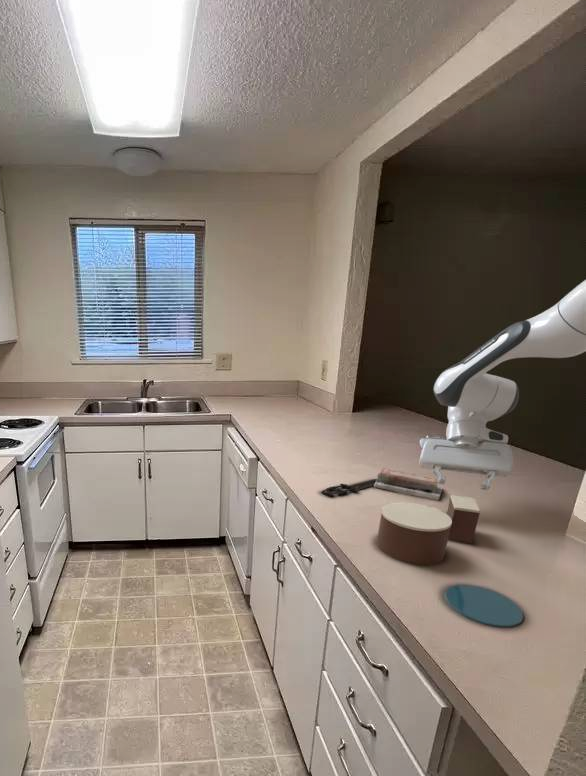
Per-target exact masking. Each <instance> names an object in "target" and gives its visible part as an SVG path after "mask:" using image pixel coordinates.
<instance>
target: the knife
mask: <svg viewBox="0 0 586 776" xmlns="http://www.w3.org/2000/svg"><path fill="white" fill-rule="evenodd" d="M376 480H377V478H374V479H370V480H366V481H362V482H358V483H354V484H350V485H348V484H346V483H340V484H339V485H336V486H335V485H334V486H329V487H327V488H325V489H323V490H321V491H320V493H321V494H322V495H324V496H326V497H328V498H334V496H335V495H338V497H343V496H346V495H348V492H349V493H354V494H357V493H358V490H359V491H360V490H363V489H367V488H369V487H370V488H371V487H374V484H375V482H376ZM340 488H341V489H340ZM332 491H333V492H332Z"/></svg>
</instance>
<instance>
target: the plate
mask: <svg viewBox="0 0 586 776" xmlns="http://www.w3.org/2000/svg"><path fill="white" fill-rule="evenodd" d="M444 597H445V601H446V603H447V605H449V606H450V607H451V608H452V609H453V610H454V611H456V612H457V613H458V614H460V615H461V616H463V617H465V618H467V619H469V620H471V621H474V622H477V623H479V624H483V625H486V626H490V627H496V628H512V627H515V626H518V625H520V624H521V623H522V621H523V619H524V614H523V611H522V609H521V608H520V607H519V606H518V605H517V604H516V603H515V602H514V601H512V600H511V599H509V598H508V597H506V596H505V595H503V594H501V593H499V592H497V591H494V590H491V589H489V588H486V587H481V586H478V585H470V584H457V585H453V586H450V587H449V588H448V589H446V591H445V594H444Z"/></svg>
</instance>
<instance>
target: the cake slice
mask: <svg viewBox="0 0 586 776" xmlns="http://www.w3.org/2000/svg"><path fill="white" fill-rule="evenodd" d="M480 513H481V510H480V507H479V505H478V504H477V500H476V499H475V497H469V496H461V495H454V494H451V495H450V497H449V502H448V505H447V511H446V514H447V515H448V516H449V517H450V518H451V520H452V524H451V529H450V533H449V537H448V541H452V542H459V543H464V544H470V545H472V544H473V541H474V537H475V533H476V529H477V525H478V522H479V518H480Z"/></svg>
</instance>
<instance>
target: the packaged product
mask: <svg viewBox="0 0 586 776" xmlns="http://www.w3.org/2000/svg"><path fill="white" fill-rule="evenodd" d="M376 479H377V480H376V482H375V484H374V486H373V487H374V488H377V489H382V490H388V491H391V492H396V493H399V494H403V495H406V496H414V497H418V498H424V499H428V500H429V499H430V500H435V501H439V500H440V497H441V494H442V492H443V487H442V486H438V484H437V482H438V479H437V478H433V477H429V476H423V475H419V474H414V473H409V472H404V471H399V470H394V469H390V468H382V469H381V470H380V471H379V472H377V478H376Z"/></svg>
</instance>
